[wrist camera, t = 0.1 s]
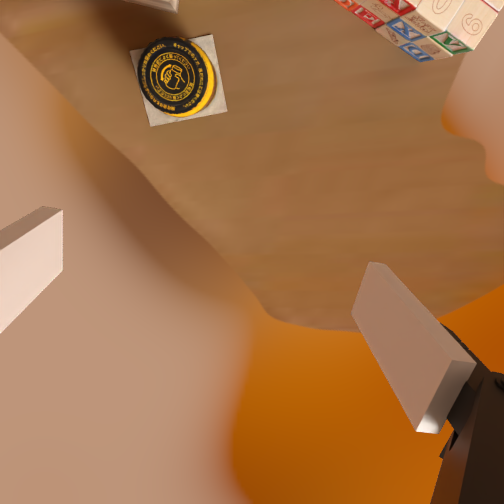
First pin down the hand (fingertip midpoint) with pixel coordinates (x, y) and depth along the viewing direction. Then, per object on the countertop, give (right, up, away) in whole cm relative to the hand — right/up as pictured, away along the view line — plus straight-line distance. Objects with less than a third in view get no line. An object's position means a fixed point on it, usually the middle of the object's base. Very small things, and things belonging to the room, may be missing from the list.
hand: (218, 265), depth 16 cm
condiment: (-6, +18, +22) cm, 30 cm away
